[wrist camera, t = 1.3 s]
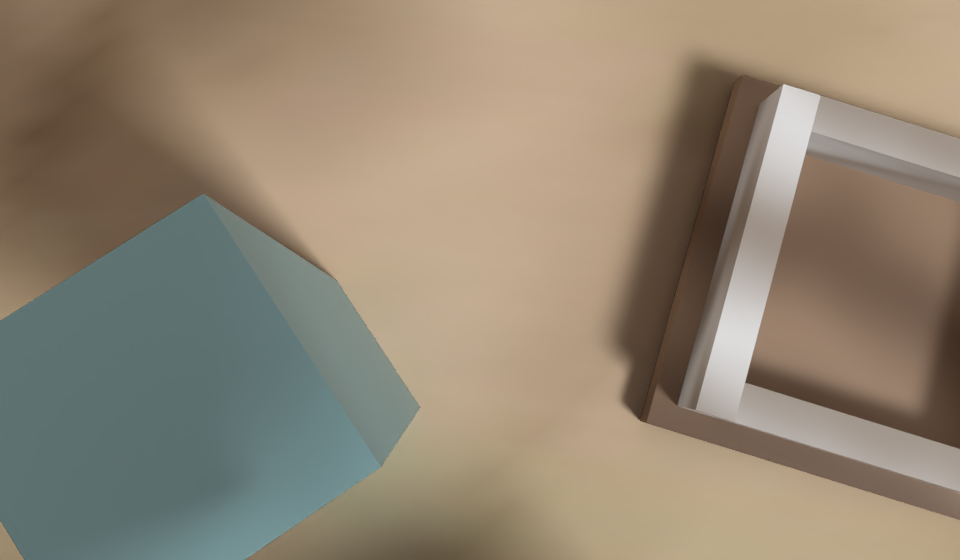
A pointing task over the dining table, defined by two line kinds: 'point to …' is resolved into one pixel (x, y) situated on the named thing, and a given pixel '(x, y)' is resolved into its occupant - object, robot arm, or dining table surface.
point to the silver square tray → (823, 298)
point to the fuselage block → (188, 398)
